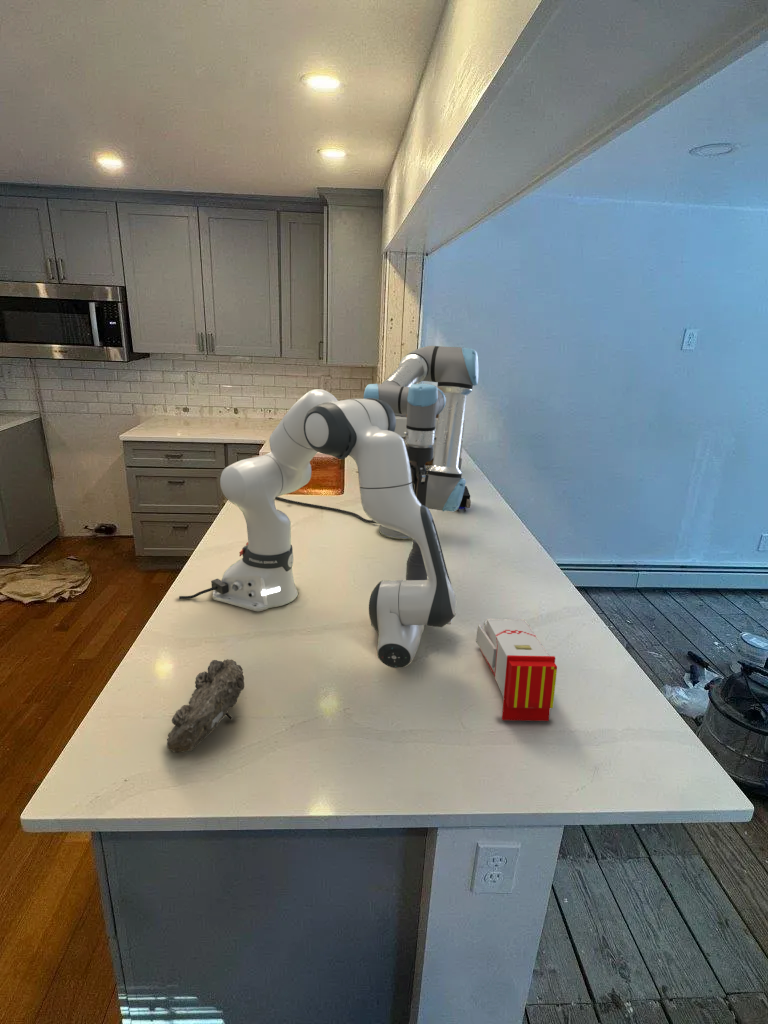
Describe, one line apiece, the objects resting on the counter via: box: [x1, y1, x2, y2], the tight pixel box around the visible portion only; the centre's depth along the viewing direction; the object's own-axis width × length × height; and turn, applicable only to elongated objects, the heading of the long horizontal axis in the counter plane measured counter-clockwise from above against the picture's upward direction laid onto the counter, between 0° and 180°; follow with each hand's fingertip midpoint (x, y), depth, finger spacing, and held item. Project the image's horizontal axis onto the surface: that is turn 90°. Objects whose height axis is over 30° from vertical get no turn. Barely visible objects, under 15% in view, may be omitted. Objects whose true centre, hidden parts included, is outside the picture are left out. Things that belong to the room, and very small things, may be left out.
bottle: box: [405, 539, 428, 580], centre depth 144 cm, size 5×5×21 cm
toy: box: [475, 618, 558, 722], centre depth 122 cm, size 12×13×30 cm
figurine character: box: [456, 485, 472, 513], centre depth 228 cm, size 7×8×15 cm
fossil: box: [166, 658, 245, 754], centre depth 106 cm, size 22×10×15 cm
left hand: (415, 592), depth 146 cm, fingers closed on bottle, 5 cm apart
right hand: (413, 527), depth 156 cm, fingers closed on cap, 4 cm apart
